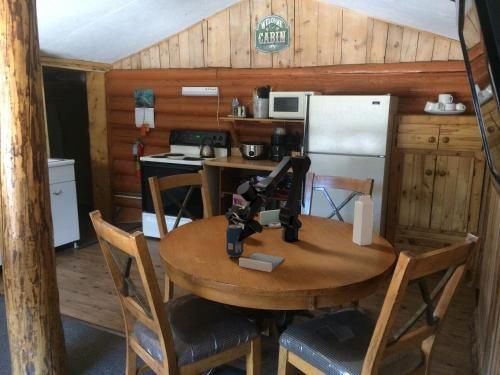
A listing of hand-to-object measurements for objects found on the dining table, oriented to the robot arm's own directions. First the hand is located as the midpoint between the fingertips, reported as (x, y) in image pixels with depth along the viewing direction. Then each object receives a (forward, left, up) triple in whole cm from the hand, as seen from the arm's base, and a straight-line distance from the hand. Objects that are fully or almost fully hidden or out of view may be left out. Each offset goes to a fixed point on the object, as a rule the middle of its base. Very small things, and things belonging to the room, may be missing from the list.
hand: (232, 239), depth 167 cm
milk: (-61, 0, -8) cm, 62 cm away
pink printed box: (-20, -46, -8) cm, 50 cm away
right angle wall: (-34, -35, -8) cm, 50 cm away
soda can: (-1, -1, -7) cm, 7 cm away
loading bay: (-10, +8, -8) cm, 15 cm away
